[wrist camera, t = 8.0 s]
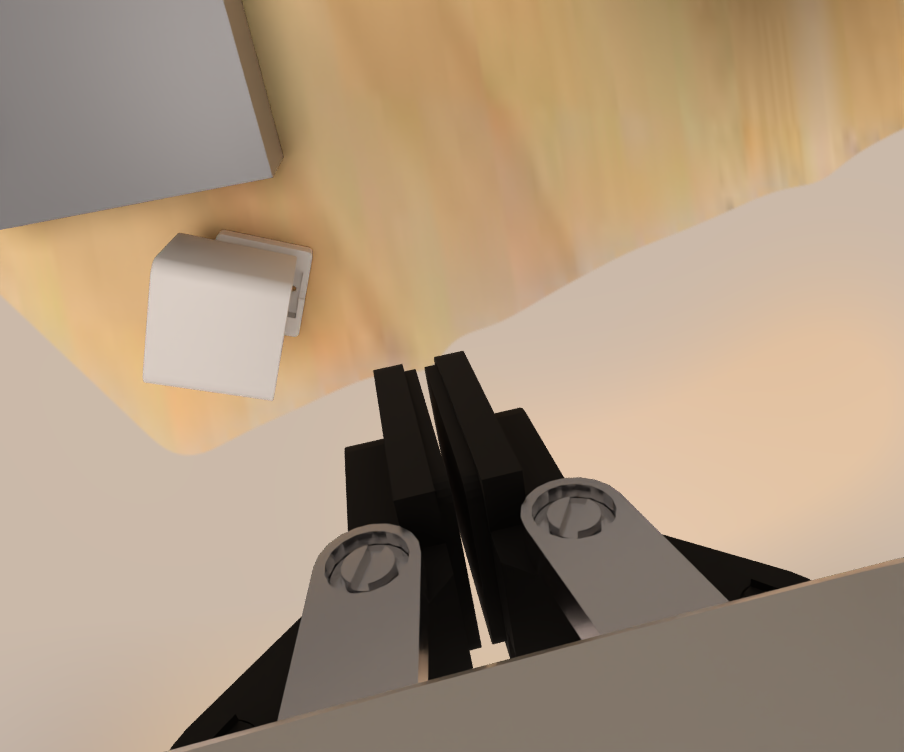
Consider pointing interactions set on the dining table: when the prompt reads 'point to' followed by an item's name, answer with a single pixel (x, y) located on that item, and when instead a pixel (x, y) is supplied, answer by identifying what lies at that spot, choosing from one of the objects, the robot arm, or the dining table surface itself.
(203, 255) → the white rounded housing
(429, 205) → the dining table surface
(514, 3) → the dining table surface
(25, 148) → the camera case
